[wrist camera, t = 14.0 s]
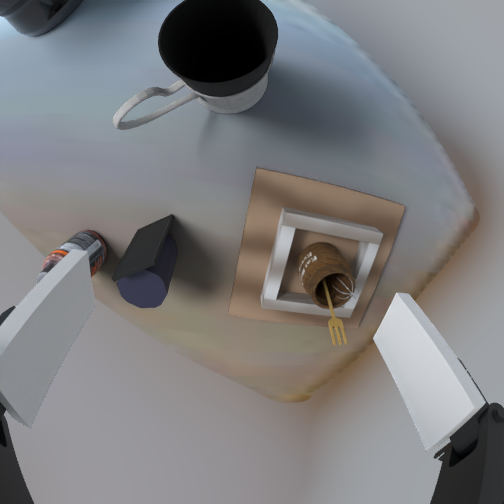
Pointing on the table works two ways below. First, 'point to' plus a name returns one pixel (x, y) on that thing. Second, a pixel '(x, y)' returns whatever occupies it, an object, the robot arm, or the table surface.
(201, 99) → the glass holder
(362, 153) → the table surface
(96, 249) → the supplement bottle
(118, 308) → the table surface
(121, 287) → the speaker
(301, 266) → the utensil holder
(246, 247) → the socket plate
